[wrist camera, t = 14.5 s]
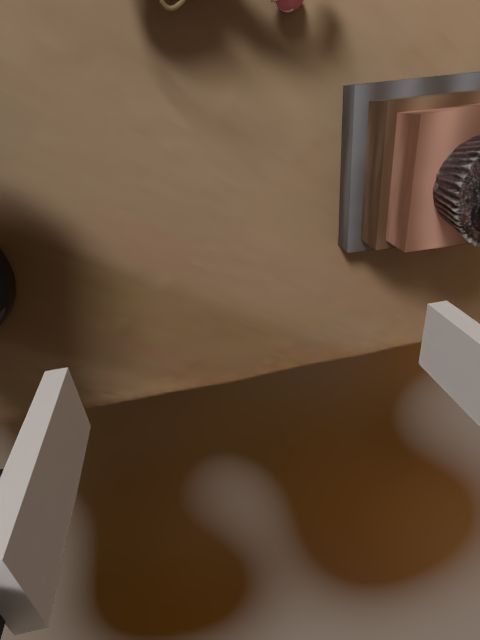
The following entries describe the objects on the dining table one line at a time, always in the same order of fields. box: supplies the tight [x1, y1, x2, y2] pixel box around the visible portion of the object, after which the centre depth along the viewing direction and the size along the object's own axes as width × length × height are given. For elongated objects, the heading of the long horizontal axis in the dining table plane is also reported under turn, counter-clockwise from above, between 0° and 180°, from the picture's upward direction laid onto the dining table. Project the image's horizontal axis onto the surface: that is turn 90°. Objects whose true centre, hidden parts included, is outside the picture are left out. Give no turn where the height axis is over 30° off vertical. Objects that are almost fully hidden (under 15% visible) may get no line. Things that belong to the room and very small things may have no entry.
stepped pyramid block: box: [338, 72, 480, 253], centre depth 41 cm, size 17×17×11 cm
